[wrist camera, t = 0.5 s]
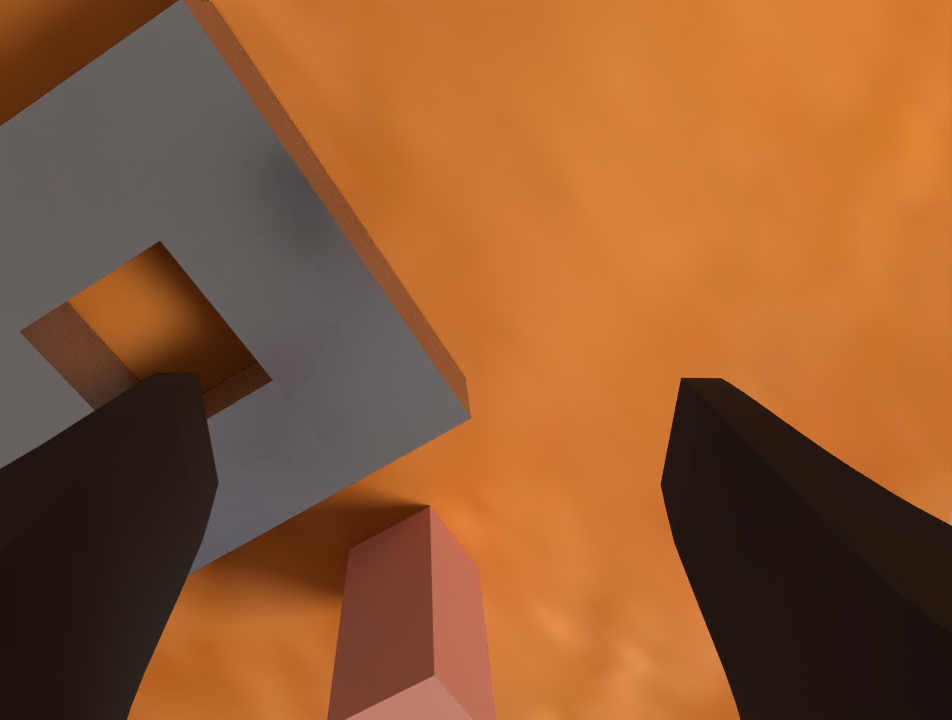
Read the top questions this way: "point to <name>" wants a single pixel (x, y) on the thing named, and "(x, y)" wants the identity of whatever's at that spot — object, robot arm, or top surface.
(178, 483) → the robot arm
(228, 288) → the gray slotted base
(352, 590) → the reddish brown rectangular block
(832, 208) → the top surface
